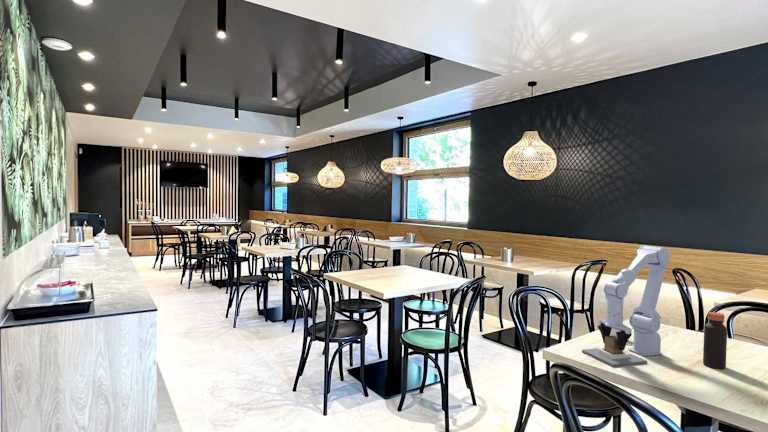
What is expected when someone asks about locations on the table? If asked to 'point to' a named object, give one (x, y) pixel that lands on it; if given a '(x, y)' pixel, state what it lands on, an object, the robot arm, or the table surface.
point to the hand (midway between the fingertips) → (613, 346)
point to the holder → (614, 357)
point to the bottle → (715, 341)
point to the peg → (612, 345)
